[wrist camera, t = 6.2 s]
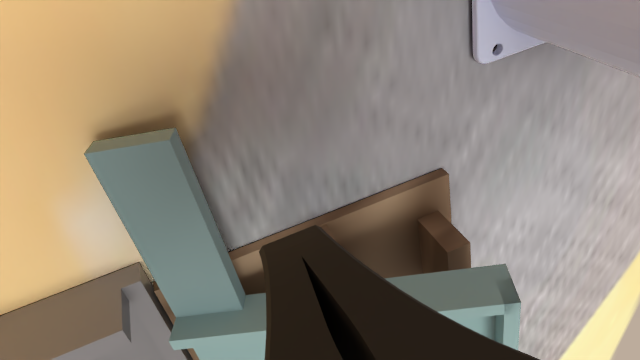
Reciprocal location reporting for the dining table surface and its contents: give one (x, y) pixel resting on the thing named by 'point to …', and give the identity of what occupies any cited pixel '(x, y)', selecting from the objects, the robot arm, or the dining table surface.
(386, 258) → the base
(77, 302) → the tray
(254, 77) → the dining table surface
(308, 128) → the dining table surface
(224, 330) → the lever
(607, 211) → the dining table surface
